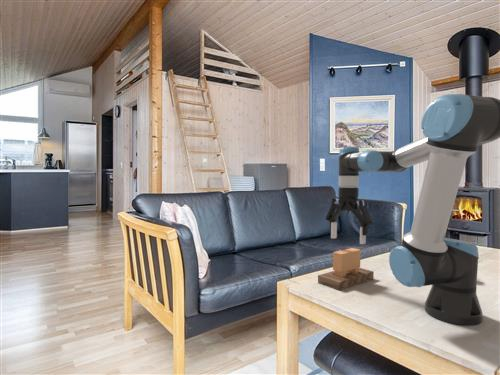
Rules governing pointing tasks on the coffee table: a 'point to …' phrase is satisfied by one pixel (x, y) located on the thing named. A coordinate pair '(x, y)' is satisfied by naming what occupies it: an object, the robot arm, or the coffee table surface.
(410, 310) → the coffee table surface
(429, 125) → the robot arm
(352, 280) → the slotted wooden base
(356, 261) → the clip
